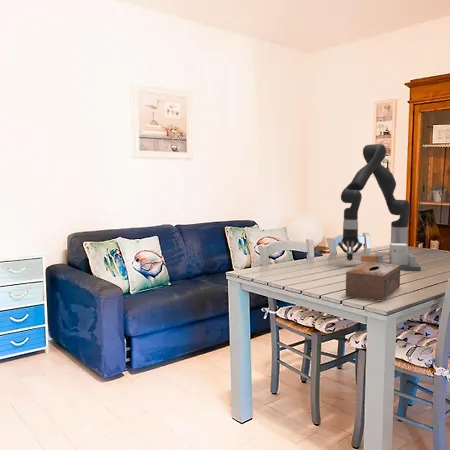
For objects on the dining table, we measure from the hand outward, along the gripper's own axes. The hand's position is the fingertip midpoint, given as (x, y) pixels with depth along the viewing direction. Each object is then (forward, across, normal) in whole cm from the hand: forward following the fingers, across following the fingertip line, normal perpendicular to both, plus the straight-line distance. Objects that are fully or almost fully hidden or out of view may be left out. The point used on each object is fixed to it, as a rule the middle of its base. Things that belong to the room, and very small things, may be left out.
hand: (349, 260), depth 241 cm
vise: (+3, +21, 0) cm, 21 cm away
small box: (+1, +24, 0) cm, 24 cm away
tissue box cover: (+4, +8, -54) cm, 54 cm away
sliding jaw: (+1, +11, 0) cm, 11 cm away
